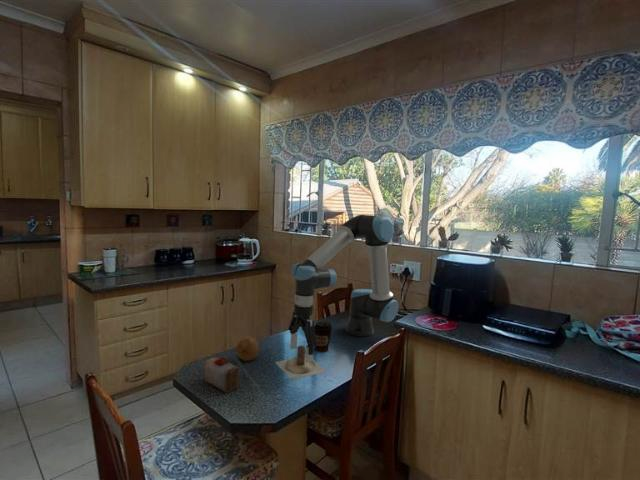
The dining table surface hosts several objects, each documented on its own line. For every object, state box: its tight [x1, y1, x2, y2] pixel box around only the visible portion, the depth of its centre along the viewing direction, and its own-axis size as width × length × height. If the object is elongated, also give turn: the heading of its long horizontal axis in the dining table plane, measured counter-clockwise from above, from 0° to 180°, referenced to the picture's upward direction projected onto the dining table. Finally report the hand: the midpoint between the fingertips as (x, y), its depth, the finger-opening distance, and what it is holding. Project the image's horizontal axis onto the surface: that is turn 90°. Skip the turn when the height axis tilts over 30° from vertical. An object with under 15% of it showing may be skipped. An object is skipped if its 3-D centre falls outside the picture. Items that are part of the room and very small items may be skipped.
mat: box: [274, 355, 327, 381], centre depth 143 cm, size 16×16×1 cm
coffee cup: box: [314, 321, 333, 353], centre depth 161 cm, size 9×8×13 cm
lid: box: [286, 345, 316, 374], centre depth 143 cm, size 12×12×8 cm
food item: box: [203, 357, 240, 394], centre depth 127 cm, size 14×8×10 cm, turn 54°
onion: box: [236, 335, 261, 362], centre depth 148 cm, size 10×10×10 cm
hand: (300, 354), depth 143 cm, fingers open, 13 cm apart
